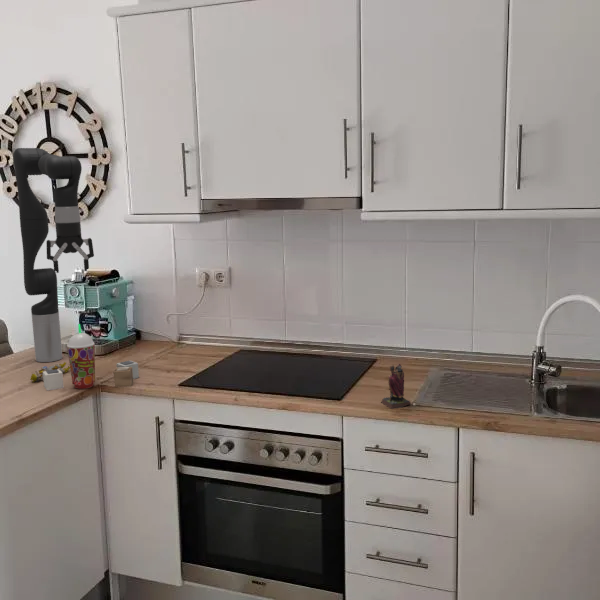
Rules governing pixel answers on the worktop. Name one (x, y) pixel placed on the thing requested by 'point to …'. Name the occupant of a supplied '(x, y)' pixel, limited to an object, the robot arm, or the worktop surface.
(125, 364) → the block grey numbered
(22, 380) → the worktop surface
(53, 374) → the white hollow cube
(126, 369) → the block walnut numbered
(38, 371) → the toy
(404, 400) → the figurine
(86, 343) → the smoothie
